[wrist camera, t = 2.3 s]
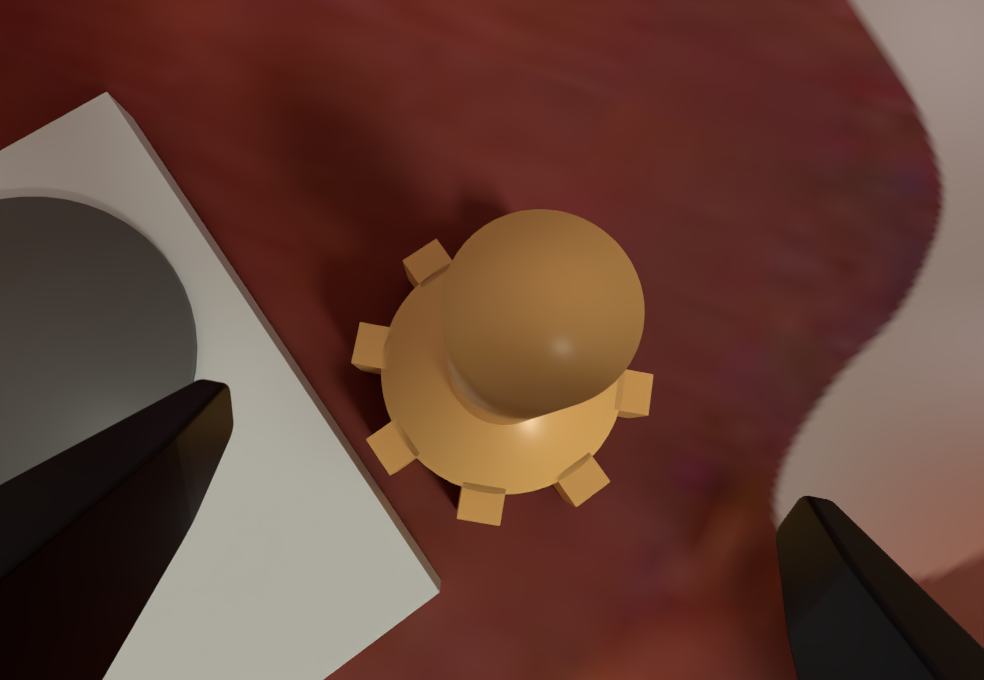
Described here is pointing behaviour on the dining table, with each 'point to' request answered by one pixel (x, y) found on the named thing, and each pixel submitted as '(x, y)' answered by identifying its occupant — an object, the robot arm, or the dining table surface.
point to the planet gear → (510, 360)
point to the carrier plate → (162, 371)
